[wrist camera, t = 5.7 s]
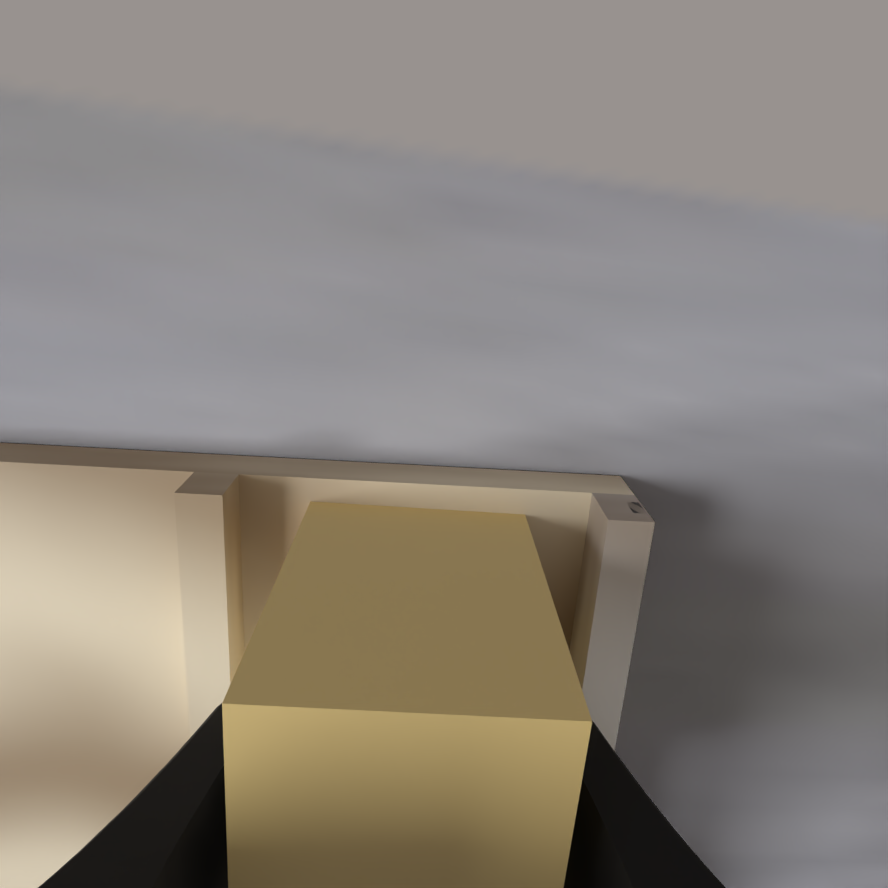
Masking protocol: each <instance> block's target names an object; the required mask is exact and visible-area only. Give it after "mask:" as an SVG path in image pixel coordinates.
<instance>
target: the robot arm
mask: <svg viewBox="0 0 888 888" xmlns="http://www.w3.org/2000/svg"><path fill="white" fill-rule="evenodd" d="M38 888H228V863H227V834H226V805H225V776H224V747H223V718H222V703H221V704H220V705H219V706H218V707H216V709H215V710H214V711H213V712H212V713H211V714H210V715H209V717H208V718H207V719H206V720H205V721H204V722H203V724H202V725H201V726H200V727H199V728H198V729H197V731H196V732H195V733H194V734H193V735H192V736H191V737H190V739H189V740H188V741H187V742H186V743H185V744H184V745H183V746H182V747H181V749H180V750H179V751H178V752H177V753H176V754H175V755H174V756H173V757H172V759H171V760H170V761H169V762H168V763H167V764H166V765H165V766H164V767H163V768H162V769H161V770H160V771H159V772H158V774H157V775H156V776H155V777H154V778H153V779H152V780H151V781H150V782H149V783H148V784H147V785H146V786H145V787H144V788H143V789H142V790H141V791H140V792H139V793H138V795H137V796H136V797H135V798H134V799H133V800H132V801H131V802H130V803H129V804H128V805H127V806H126V807H125V808H124V809H123V810H122V811H121V812H120V813H119V814H118V815H117V816H116V817H114V818H113V819H112V820H111V821H110V822H109V823H108V824H107V825H106V826H105V827H104V828H103V829H102V830H101V831H100V832H99V833H98V834H97V835H96V836H95V837H94V838H93V839H92V840H91V841H89V842H88V843H87V844H86V845H85V846H84V847H83V848H82V849H81V850H80V851H79V852H78V853H77V854H76V855H75V856H73V857H72V858H71V859H70V860H69V861H68V862H67V863H66V864H64V865H63V866H62V867H61V868H60V869H59V870H58V871H57V872H55V873H54V874H53V875H52V876H51V877H50V878H49V879H47V880H46V881H45V882H44V883H43V884H42V885H40V886H39V887H38ZM563 888H725V887H724V885H723V884H722V883H721V882H720V881H719V880H718V879H717V878H716V877H715V876H714V875H713V873H712V872H711V871H710V870H709V869H708V868H707V867H706V865H705V864H704V863H703V862H702V861H701V860H700V859H699V858H698V856H697V855H696V854H695V853H694V852H693V851H692V850H691V848H690V847H689V846H688V845H687V844H686V842H685V841H684V840H683V839H682V838H681V837H680V835H679V834H678V833H677V832H676V831H675V829H674V828H673V827H672V826H671V824H670V823H669V822H668V821H667V819H666V818H665V817H664V816H663V814H662V813H661V812H660V811H659V809H658V808H657V807H656V806H655V804H654V803H653V802H652V801H651V799H650V798H649V797H648V796H647V794H646V793H645V792H644V790H643V789H642V788H641V786H640V785H639V784H638V782H637V781H636V780H635V778H634V777H633V776H632V774H631V773H630V772H629V770H628V769H627V768H626V766H625V765H624V764H623V762H622V761H621V760H620V758H619V757H618V755H617V754H616V753H615V751H614V750H613V748H612V747H611V746H610V744H609V743H608V741H607V740H606V739H605V737H604V736H603V734H602V733H601V731H600V730H599V729H598V727H597V726H596V724H595V723H594V722H593V721H592V726H591V732H590V738H589V743H588V749H587V755H586V761H585V766H584V772H583V778H582V784H581V789H580V795H579V801H578V807H577V812H576V818H575V824H574V830H573V835H572V841H571V847H570V853H569V858H568V864H567V870H566V876H565V881H564V887H563Z"/></svg>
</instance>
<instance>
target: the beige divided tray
mask: <svg viewBox="0 0 888 888" xmlns="http://www.w3.org/2000/svg"><path fill="white" fill-rule="evenodd" d="M310 501H312V502H328V503H344V504H361V505H377V506H394V507H410V508H426V509H443V510H459V511H476V512H492V513H508V514H525V516H526V519H527V522H528V525H529V528H530V531H531V534H532V537H533V540H534V544H535V547H536V550H537V553H538V556H539V559H540V562H541V565H542V568H543V571H544V574H545V577H546V581H547V584H548V587H549V590H550V593H551V596H552V599H553V602H554V605H555V608H556V611H557V614H558V618H559V621H560V624H561V627H562V630H563V633H564V636H565V639H566V642H567V645H568V648H569V651H570V654H571V658H572V661H573V664H574V667H575V670H576V673H577V676H578V679H579V682H580V685H581V688H582V691H583V695H584V698H585V701H586V704H587V707H588V710H589V713H590V716H591V719H592V721H593V722H594V723H595V724H596V726H597V727H598V729H599V730H600V731H601V733H602V734H603V736H604V737H605V739H606V740H607V741H608V743H609V744H610V746H611V747H612V748H613V750H614V751H615V746H616V741H617V735H618V729H619V724H620V718H621V712H622V707H623V701H624V695H625V690H626V684H627V678H628V673H629V667H630V661H631V656H632V650H633V644H634V639H635V633H636V627H637V622H638V616H639V610H640V605H641V599H642V593H643V588H644V582H645V576H646V571H647V565H648V559H649V554H650V548H651V542H652V537H653V531H654V525H655V522H654V520H653V519H652V518H651V516H650V515H649V514H648V512H647V511H646V510H645V508H644V507H643V506H642V504H641V503H640V502H639V500H638V499H637V498H636V496H635V495H634V494H633V492H632V491H631V490H630V488H629V487H628V486H627V484H626V483H625V482H624V480H623V479H622V478H621V476H611V475H593V474H574V473H555V472H537V471H518V470H499V469H481V468H462V467H444V466H425V465H406V464H388V463H369V462H350V461H332V460H313V459H294V458H276V457H257V456H238V455H220V454H201V453H183V452H164V451H145V450H127V449H108V448H89V447H71V446H52V445H33V444H15V443H0V888H38V887H39V886H40V885H42V884H43V883H44V882H45V881H46V880H47V879H49V878H50V877H51V876H52V875H53V874H54V873H55V872H57V871H58V870H59V869H60V868H61V867H62V866H63V865H64V864H66V863H67V862H68V861H69V860H70V859H71V858H72V857H73V856H75V855H76V854H77V853H78V852H79V851H80V850H81V849H82V848H83V847H84V846H85V845H86V844H87V843H88V842H89V841H91V840H92V839H93V838H94V837H95V836H96V835H97V834H98V833H99V832H100V831H101V830H102V829H103V828H104V827H105V826H106V825H107V824H108V823H109V822H110V821H111V820H112V819H113V818H114V817H116V816H117V815H118V814H119V813H120V812H121V811H122V810H123V809H124V808H125V807H126V806H127V805H128V804H129V803H130V802H131V801H132V800H133V799H134V798H135V797H136V796H137V795H138V793H139V792H140V791H141V790H142V789H143V788H144V787H145V786H146V785H147V784H148V783H149V782H150V781H151V780H152V779H153V778H154V777H155V776H156V775H157V774H158V772H159V771H160V770H161V769H162V768H163V767H164V766H165V765H166V764H167V763H168V762H169V761H170V760H171V759H172V757H173V756H174V755H175V754H176V753H177V752H178V751H179V750H180V749H181V747H182V746H183V745H184V744H185V743H186V742H187V741H188V740H189V739H190V737H191V736H192V735H193V734H194V733H195V732H196V731H197V729H198V728H199V727H200V726H201V725H202V724H203V722H204V721H205V720H206V719H207V718H208V717H209V715H210V714H211V713H212V712H213V711H214V710H215V709H216V707H218V706H219V705H220V704H221V703H222V702H223V700H224V698H225V696H226V693H227V691H228V689H229V686H230V684H231V682H232V680H233V677H234V675H235V673H236V670H237V668H238V666H239V664H240V661H241V659H242V657H243V654H244V652H245V650H246V648H247V645H248V643H249V641H250V638H251V636H252V634H253V632H254V629H255V627H256V625H257V622H258V620H259V618H260V616H261V613H262V611H263V609H264V606H265V604H266V602H267V600H268V597H269V595H270V593H271V590H272V588H273V586H274V584H275V581H276V579H277V577H278V574H279V572H280V570H281V568H282V565H283V563H284V561H285V558H286V556H287V554H288V552H289V549H290V547H291V545H292V542H293V540H294V538H295V536H296V533H297V531H298V529H299V526H300V524H301V522H302V520H303V517H304V515H305V513H306V510H307V508H308V506H309V504H310Z"/></svg>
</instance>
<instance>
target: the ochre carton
mask: <svg viewBox="0 0 888 888" xmlns="http://www.w3.org/2000/svg"><path fill="white" fill-rule="evenodd" d="M222 718H223V747H224V776H225V805H226V834H227V863H228V888H563V887H564V881H565V876H566V870H567V864H568V858H569V853H570V847H571V841H572V835H573V830H574V824H575V818H576V812H577V807H578V801H579V795H580V789H581V784H582V778H583V772H584V766H585V761H586V755H587V749H588V743H589V738H590V732H591V726H592V719H591V716H590V713H589V710H588V707H587V704H586V701H585V698H584V695H583V691H582V688H581V685H580V682H579V679H578V676H577V673H576V670H575V667H574V664H573V661H572V658H571V654H570V651H569V648H568V645H567V642H566V639H565V636H564V633H563V630H562V627H561V624H560V621H559V618H558V614H557V611H556V608H555V605H554V602H553V599H552V596H551V593H550V590H549V587H548V584H547V581H546V577H545V574H544V571H543V568H542V565H541V562H540V559H539V556H538V553H537V550H536V547H535V544H534V540H533V537H532V534H531V531H530V528H529V525H528V522H527V519H526V516H525V514H508V513H492V512H476V511H459V510H443V509H426V508H410V507H394V506H377V505H361V504H344V503H328V502H312V501H310V504H309V506H308V508H307V510H306V513H305V515H304V517H303V520H302V522H301V524H300V526H299V529H298V531H297V533H296V536H295V538H294V540H293V542H292V545H291V547H290V549H289V552H288V554H287V556H286V558H285V561H284V563H283V565H282V568H281V570H280V572H279V574H278V577H277V579H276V581H275V584H274V586H273V588H272V590H271V593H270V595H269V597H268V600H267V602H266V604H265V606H264V609H263V611H262V613H261V616H260V618H259V620H258V622H257V625H256V627H255V629H254V632H253V634H252V636H251V638H250V641H249V643H248V645H247V648H246V650H245V652H244V654H243V657H242V659H241V661H240V664H239V666H238V668H237V670H236V673H235V675H234V677H233V680H232V682H231V684H230V686H229V689H228V691H227V693H226V696H225V698H224V700H223V702H222Z"/></svg>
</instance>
